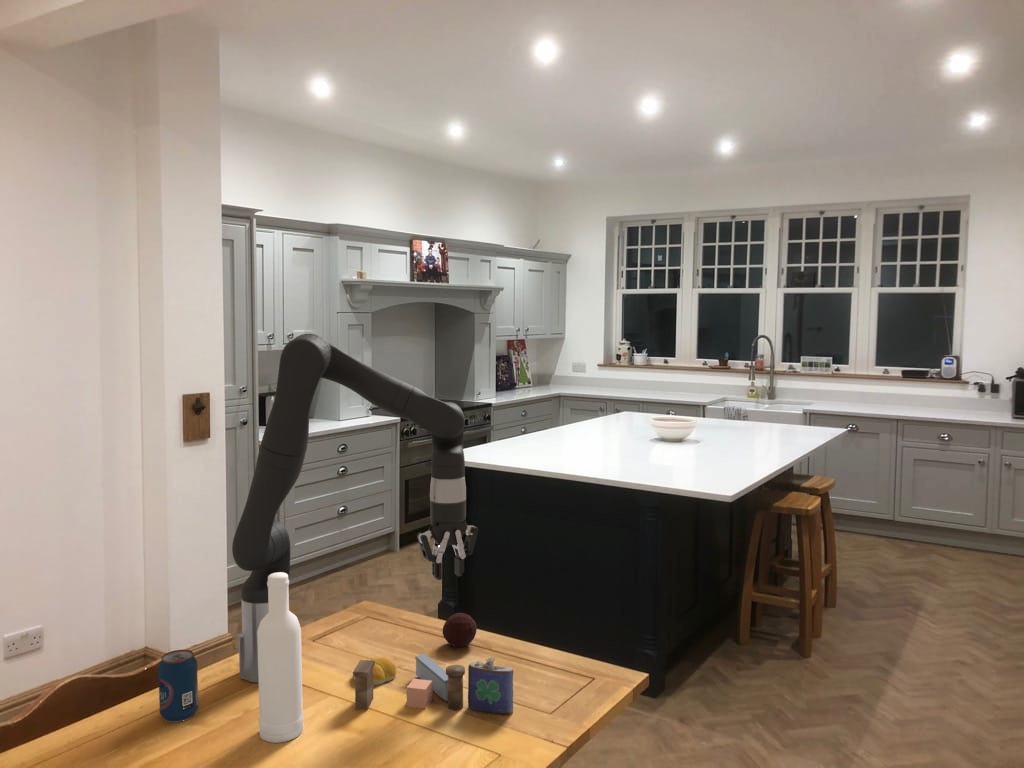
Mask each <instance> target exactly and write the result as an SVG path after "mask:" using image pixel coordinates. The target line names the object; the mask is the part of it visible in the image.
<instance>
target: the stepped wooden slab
mask: <svg viewBox="0 0 1024 768" xmlns="http://www.w3.org/2000/svg"><path fill="white" fill-rule="evenodd" d="M374 665H375V660H372V659H369V660H368V659H365V660H364V659H360V660H359V661H358V663H357V665H356V666H355V668H354V669H355V670H354V669H353V672H352V676H355V680H354V692H355V693H354V695H355V702H354V703H355V710H356V711H369V710H368V709H369V708H370V706H371V704H372V702H373V700H374V686H373V667H374Z"/></svg>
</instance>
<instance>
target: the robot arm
mask: <svg viewBox="0 0 1024 768" xmlns="http://www.w3.org/2000/svg"><path fill="white" fill-rule="evenodd" d="M278 364H279V365H278V366H279V367H278V375H277V383H276V387H275V389H276V390H275V394H274V400H273V403H272V406H271V409H270V412H269V414H268V418H267V422H266V425H265V429H264V432H263V435H262V438H261V442H260V446H259V450H258V455H257V459H256V464H255V469H254V472H253V476H252V481H251V484H250V488H249V492H248V495H247V498H246V499H247V500H246V503H245V506H244V508H243V511H242V513H241V517H240V519H239V522H238V524H237V527H236V530H235V533H234V536H233V539H232V547H231V549H232V557H233V560H234V562H235V564H236V566H238V568H240V569H241V570H244V571H245V572H246V571H247V572H250V574H249V576H248V578H247V579H246V580H245V581H244V583H243V584H242V586H241V588H240V589H241V591H240V592H241V593H240V594H241V595H240V597H241V628H242V629H241V633H240V634H238V635H239V636H238V657H239V658H238V661H239V664H238V665H239V666H238V667H239V679H240V680H242V679H243V680H245V681H248V682H251V683H258V684H259V679H258V639H257V631H258V628H259V625H260V622H261V620H262V619H263V618H264V617H265V616H266V615H267V614H268V613H269V605H268V586H267V582H268V576H269V575H270V574H272V573H277V572H283V573H286V574H288V579H289V580H290V577H291V576H290V575H291V538H290V536H289V535H290V534H289V531H288V530H287V528H286V527H285V525H284V524H283V523H282V522H280V521H279V520H276V516H277V514H278V511H279V509H280V507H281V505H282V504H283V502H285V500H286V498H287V496H288V495H289V493H290V491H291V490H292V489H293V487H294V486H295V484H296V482H297V481H298V478H299V476H300V474H301V472H302V469H303V465H304V461H305V458H306V453H307V450H308V443H309V435H310V434H309V432H310V412H311V406H312V403H313V400H314V396H315V393H316V391H317V388H318V385H319V383H320V380H321V379H323V380H329V381H330V382H333V383H334V382H335V383H336V384H339V385H342V386H344V387H345V388H347V389H349V390H351V391H353V392H355V393H356V394H357V395H359V396H360V397H362V398H363V399H364V400H366V401H367V402H369V403H371V404H372V405H373V406H376V407H377V408H379V409H381V410H383V411H385V412H388V413H389V414H392V415H393V416H395V417H400V419H404V420H406V421H409V422H411V423H413V424H415V425H416V426H418V427H419V428H422V429H423V430H424V431H427V432H428V433H431V441H432V442H431V443H432V451H431V461H430V463H431V464H430V469H431V470H430V472H431V473H430V474H431V475H430V476H431V477H430V478H431V479H430V486H429V487H430V488H429V503H430V505H429V506H430V507H429V508H430V509H429V510H430V511H429V512H430V513H429V515H430V516H429V517H430V526H429V528H428V530H426V531H424V532H423V533H422V532H418V533H417V534H416V537H417V541H418V544H419V547H420V551H421V554H422V556H423V559H424V560H426V561H428V562H431V566H432V567H431V573H432V574H431V575H432V576H433V577H434V580H435V579H436V580H437V581H441V580H442V579H443V562H442V559H443V555H444V553H445V551H446V548H447V547H449V546H452V548H453V551H454V554H455V555H454V556H455V557H454V575H456V576H457V577H462V576H463V574H464V572H465V558H466V557H467V556H471V555H473V553H474V550H475V549H474V548H475V546H476V543H477V540H478V539H477V537H478V536H479V535H478V534H479V528H478V527H477V526H475V525H473V524H472V525H471V524H470V525H468V524H467V521H466V517H467V485H466V477H465V476H466V471H465V470H466V466H465V465H466V463H465V462H466V461H465V455H464V431H465V428H464V427H465V426H466V418H465V414H464V412H463V410H462V408H461V407H460V405H458V404H457V403H455V402H452V401H442V400H439V398H438V399H437V398H436V397H432V396H431V395H428V394H427V393H426V392H424V391H423V390H421V389H420V388H418V387H416V386H414V385H412V384H409V383H407V382H406V381H402V380H401V379H399V378H396V377H394V376H391V375H389V374H387V373H384V372H382V371H380V370H378V369H376V368H373V367H371V366H369V365H367V364H365V363H363V362H362V361H360V360H357V359H356V358H354V357H353V356H351V355H349V354H348V353H347V352H345V351H343V350H342V349H340V348H338V347H337V346H335V345H334V344H332V343H331V342H329V341H328V340H326V339H325V338H323V337H322V336H319V335H318V334H315V333H303V334H300V335H298V336H296V337H295V338H292V339H291V340H290V341H289V342H287V344H286V345H285V346H284V348H283V349H282V351H281V354H280V358H279V363H278ZM464 535H466V536H465V539H464V541H463V539H462V538H463V536H464ZM431 538H432V539H433V544H432V548H431V545H430V542H431Z"/></svg>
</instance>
